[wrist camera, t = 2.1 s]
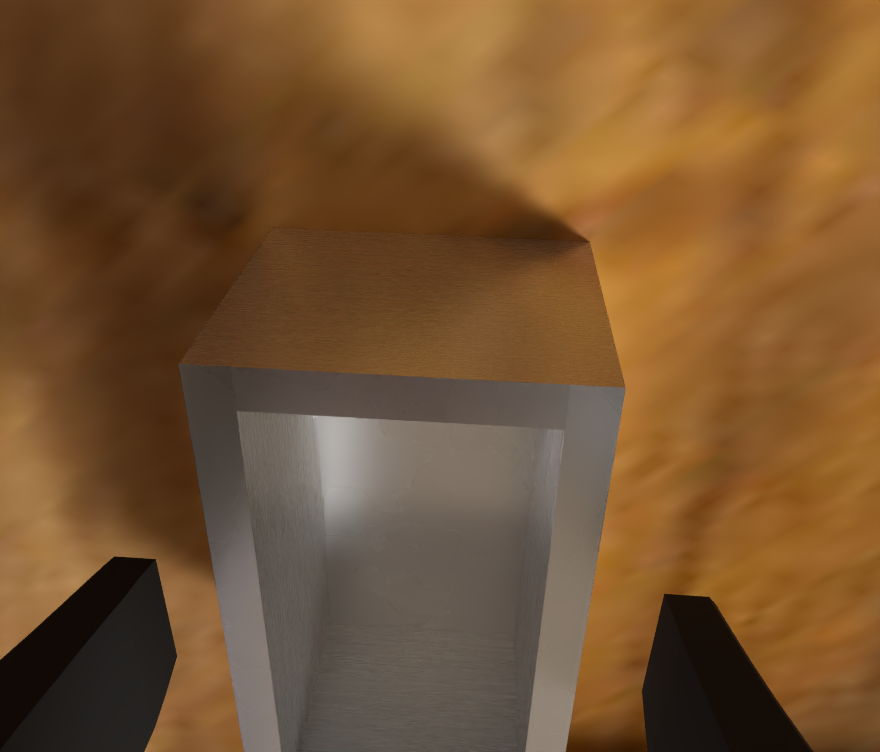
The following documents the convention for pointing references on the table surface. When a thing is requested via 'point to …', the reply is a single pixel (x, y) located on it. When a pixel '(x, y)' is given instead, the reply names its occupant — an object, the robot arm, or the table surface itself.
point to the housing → (405, 486)
